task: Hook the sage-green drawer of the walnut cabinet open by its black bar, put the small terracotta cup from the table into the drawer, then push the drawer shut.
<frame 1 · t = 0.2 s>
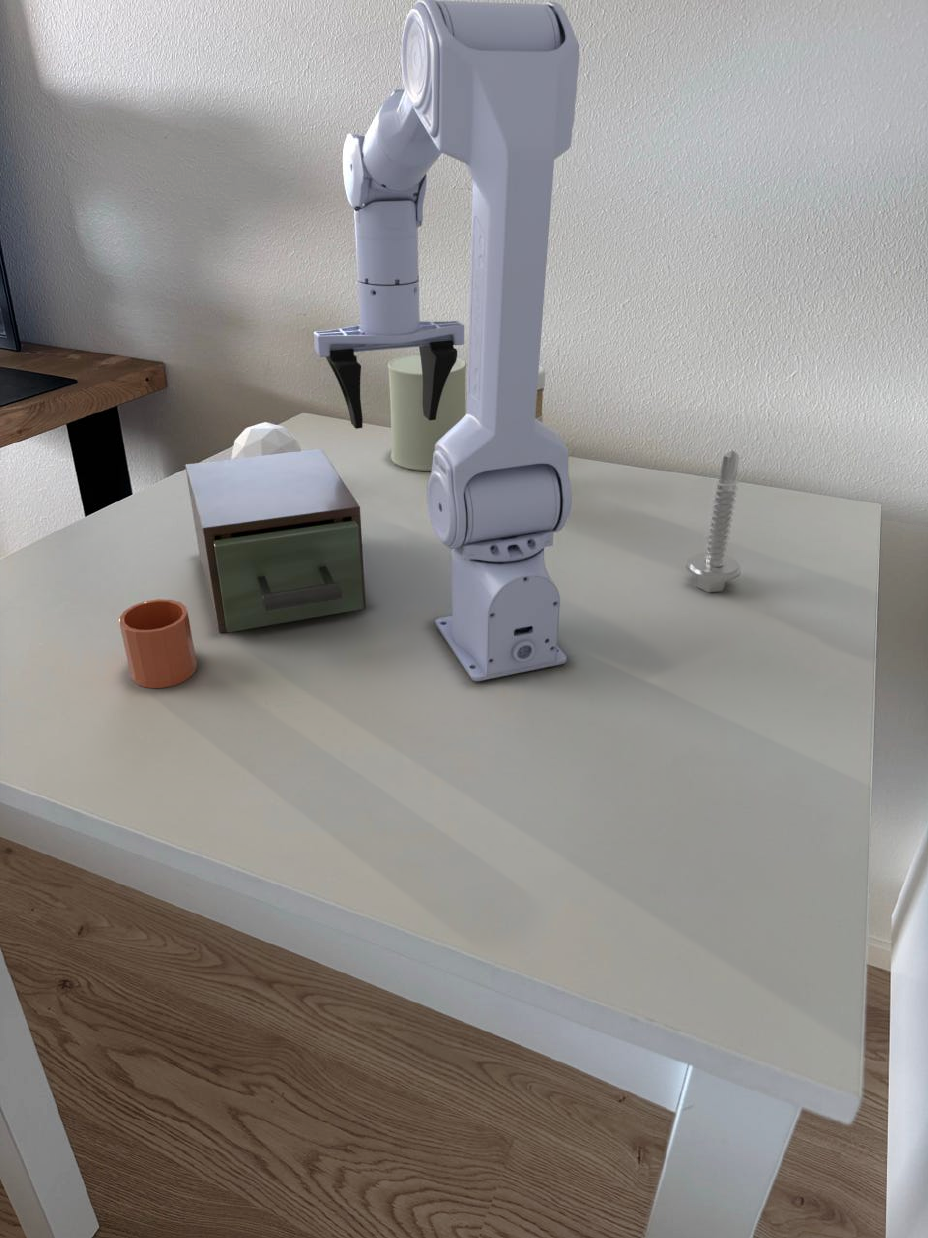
hand: (393, 421, 92), 10 cm above the table, tool pointing down, fingers open, 7 cm apart
cup: (164, 670, 71), on the table
cabinet: (279, 582, 83), on the table
geometric ball: (271, 492, 102), on the table
screw: (710, 587, 83), on the table
can: (428, 459, 111), on the table
sprinkles bottle: (519, 487, 103), on the table
drawer: (283, 556, 77), point 5 cm above the table, slide at 0.5 cm
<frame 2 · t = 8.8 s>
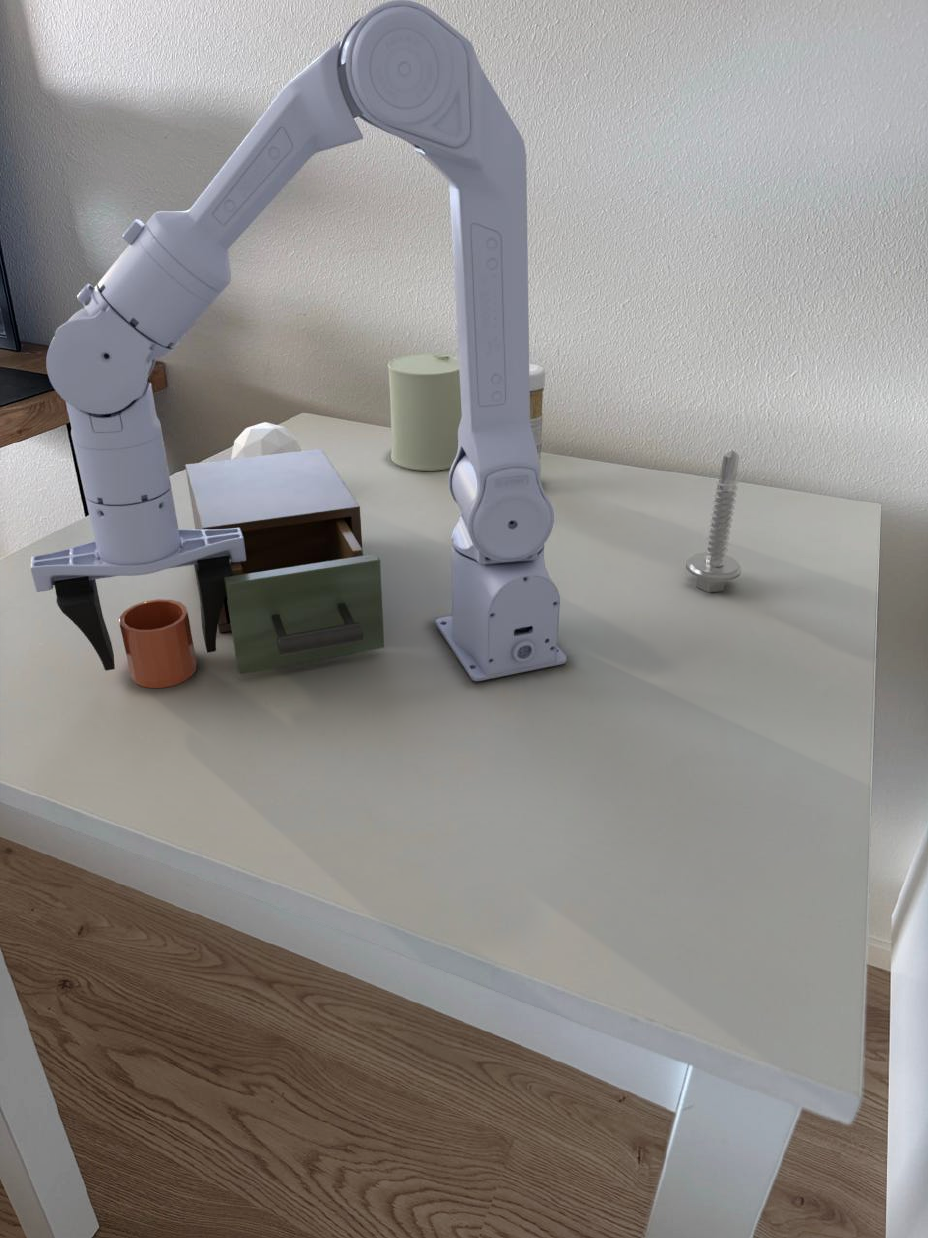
hand: (160, 654, 70), 2 cm above the table, tool pointing down, fingers open, 7 cm apart
drawer: (298, 591, 72), point 5 cm above the table, slide at 7.0 cm, touching gripper
everything else where it was.
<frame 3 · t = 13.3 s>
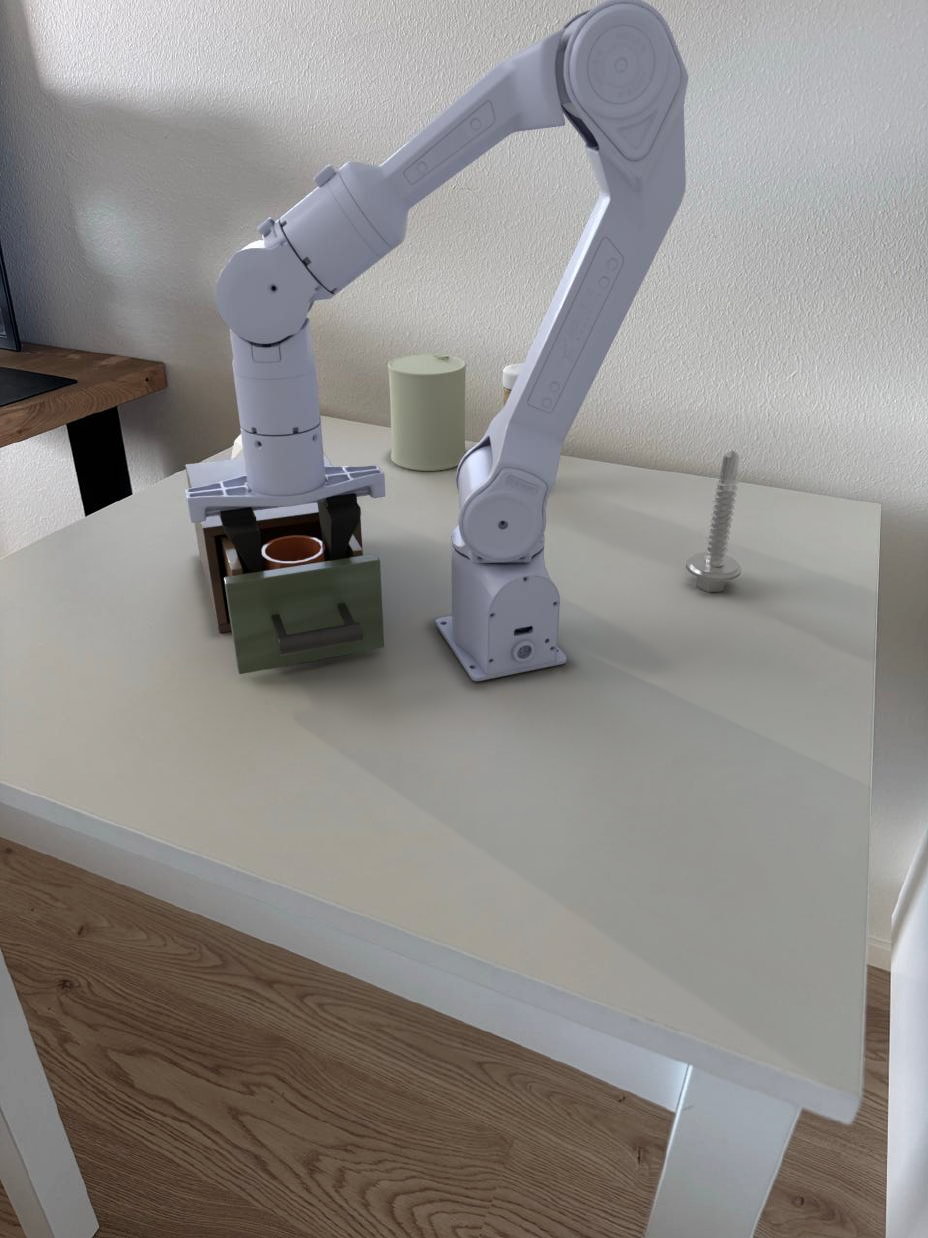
hand: (297, 589, 72), 5 cm above the table, tool pointing down, fingers closed on cup, 5 cm apart
cup: (298, 604, 72), point 3 cm above the table, touching gripper
drawer: (298, 591, 72), point 5 cm above the table, slide at 7.0 cm
everything else where it was.
when the fingers open (7 cm above the table, at t = 15.0 s): cup moves 7 cm, resting on drawer.
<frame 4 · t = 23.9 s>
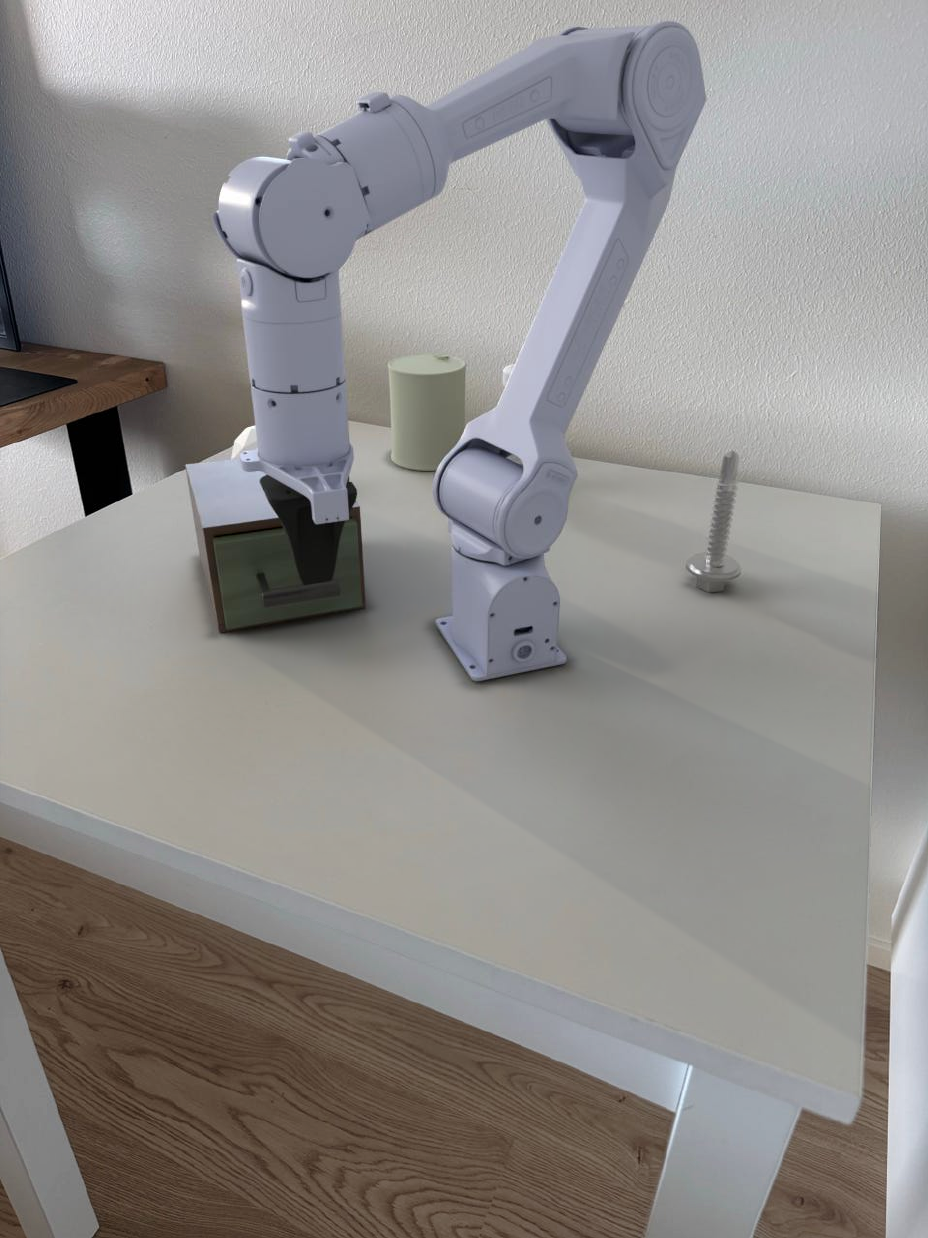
hand: (315, 578, 62), 10 cm above the table, tool pointing down, fingers closed
cup: (285, 581, 79), point 2 cm above the table, touching drawer
drawer: (282, 554, 77), point 5 cm above the table, slide at 0.0 cm, touching cup
everything else where it was.
at the end: drawer pulled out 7.0 cm at the most during the clip, back to where it started at the end; cup inside the target area in the cabinet (3.9 cm from its centre), point 2.0 cm above the cabinet's base; drawer slide at 0.0 cm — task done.
